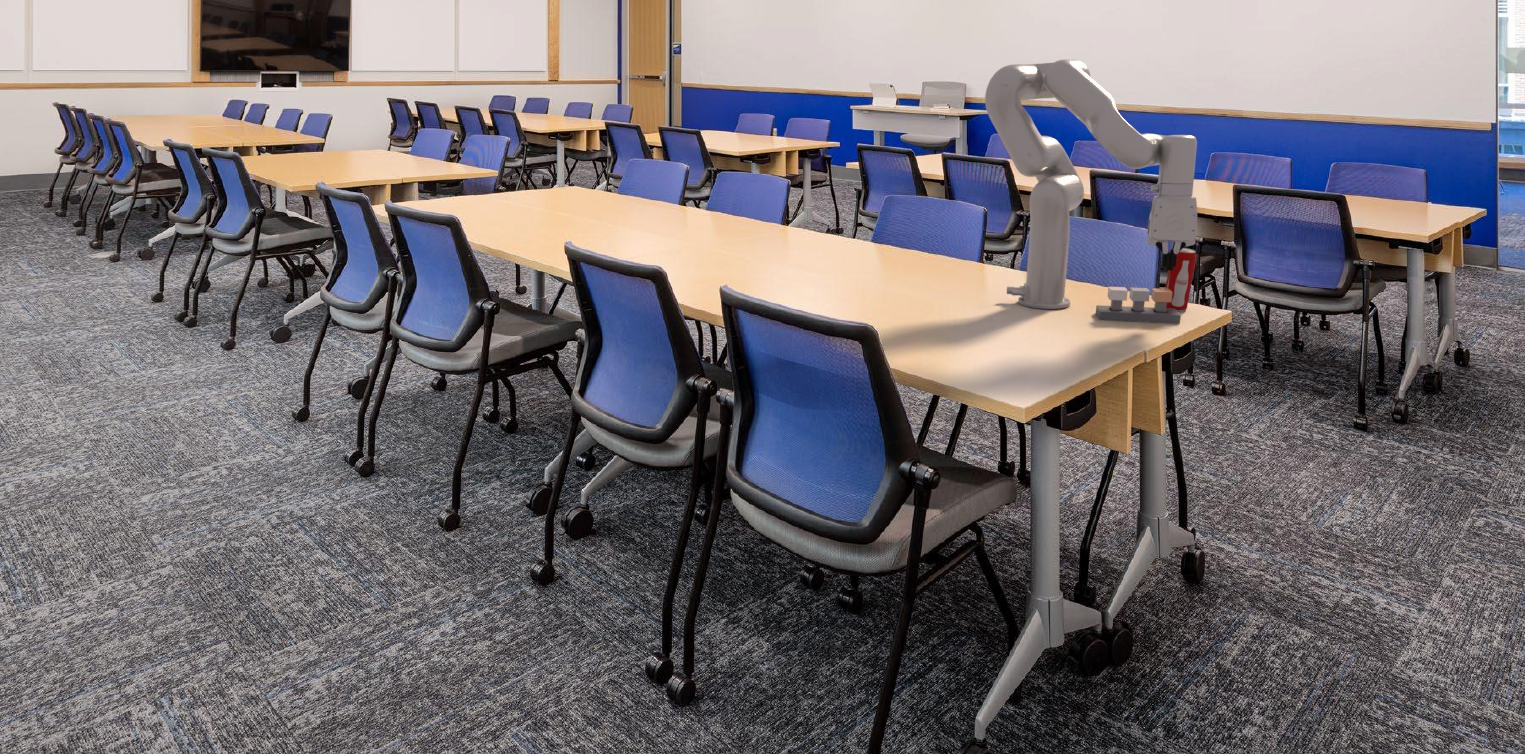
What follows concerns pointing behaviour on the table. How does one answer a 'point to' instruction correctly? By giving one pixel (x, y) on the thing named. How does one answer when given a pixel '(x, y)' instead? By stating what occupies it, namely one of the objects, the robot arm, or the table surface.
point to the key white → (1117, 297)
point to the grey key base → (1138, 315)
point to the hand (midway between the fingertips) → (1168, 269)
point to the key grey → (1139, 298)
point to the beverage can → (1181, 279)
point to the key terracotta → (1161, 298)
